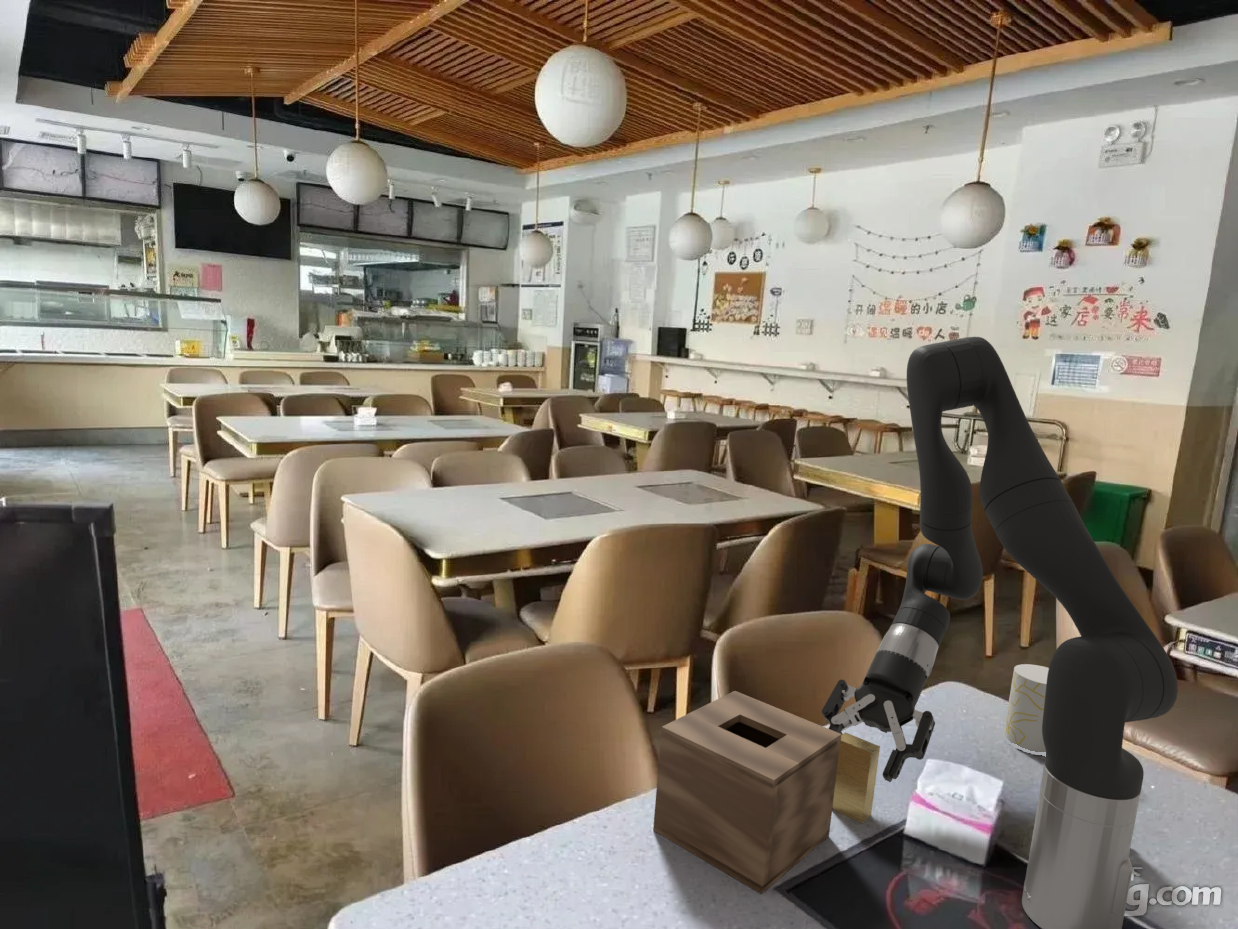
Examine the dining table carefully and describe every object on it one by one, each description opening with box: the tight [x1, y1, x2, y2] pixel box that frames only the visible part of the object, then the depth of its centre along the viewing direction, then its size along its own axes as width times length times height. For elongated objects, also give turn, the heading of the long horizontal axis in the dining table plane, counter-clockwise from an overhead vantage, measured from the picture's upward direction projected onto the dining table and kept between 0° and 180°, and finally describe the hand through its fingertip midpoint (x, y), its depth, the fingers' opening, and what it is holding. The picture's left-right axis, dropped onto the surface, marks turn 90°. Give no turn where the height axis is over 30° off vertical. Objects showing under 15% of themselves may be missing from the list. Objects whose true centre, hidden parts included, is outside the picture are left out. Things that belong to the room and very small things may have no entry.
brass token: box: [832, 731, 881, 824], centre depth 109 cm, size 3×5×10 cm, turn 48°
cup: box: [1003, 663, 1049, 752], centre depth 132 cm, size 8×8×12 cm
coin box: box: [652, 690, 841, 895], centre depth 102 cm, size 16×16×14 cm
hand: (856, 765), depth 110 cm, fingers open, 8 cm apart
